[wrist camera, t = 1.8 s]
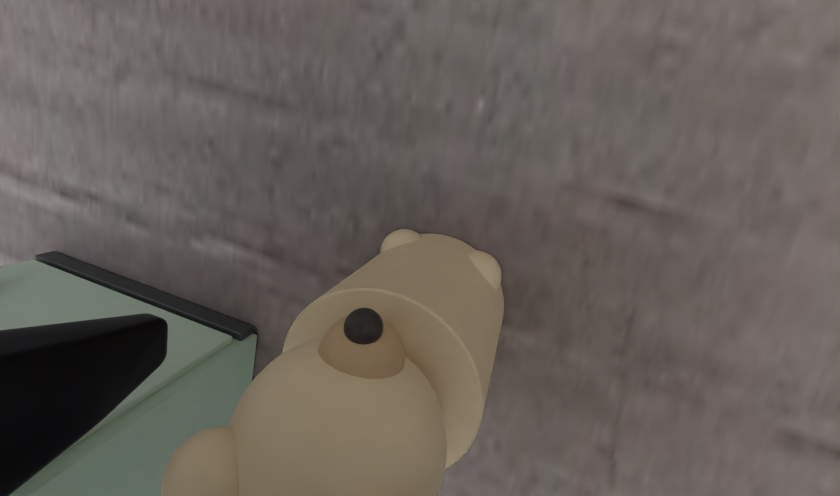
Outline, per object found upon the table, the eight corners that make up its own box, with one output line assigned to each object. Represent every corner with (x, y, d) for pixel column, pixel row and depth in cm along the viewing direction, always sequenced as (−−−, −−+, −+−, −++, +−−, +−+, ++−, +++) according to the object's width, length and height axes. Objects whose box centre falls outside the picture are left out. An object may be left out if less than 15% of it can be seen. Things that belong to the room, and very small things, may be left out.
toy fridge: (260, 312, 15) (-11, 480, 8) (233, 545, 19) (31, 813, 11) (49, 234, 17) (-331, 308, 10) (61, 460, 21) (-207, 640, 13)
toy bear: (526, 246, 12) (496, 468, 4) (482, 383, 13) (395, 751, 5) (384, 205, 13) (121, 318, 5) (357, 338, 14) (121, 596, 6)
